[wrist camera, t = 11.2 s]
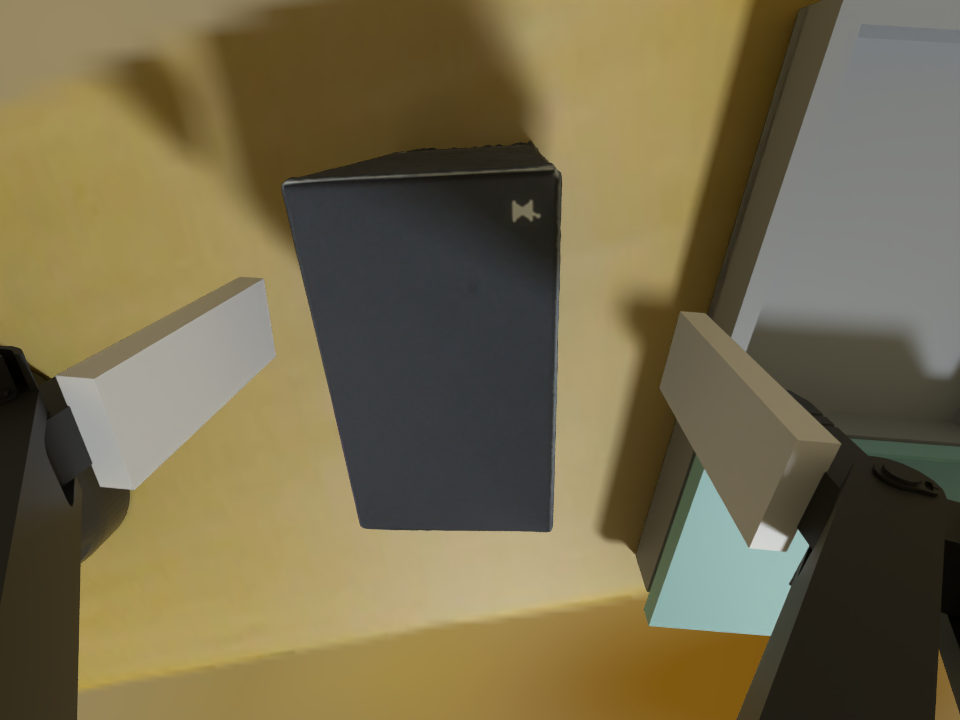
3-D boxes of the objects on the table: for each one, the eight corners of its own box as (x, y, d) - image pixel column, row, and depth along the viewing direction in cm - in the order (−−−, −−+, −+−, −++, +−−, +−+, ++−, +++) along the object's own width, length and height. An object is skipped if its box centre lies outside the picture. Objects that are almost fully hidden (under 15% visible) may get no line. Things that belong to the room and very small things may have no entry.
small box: (379, 149, 19) (257, 169, 10) (539, 140, 18) (576, 151, 9) (411, 376, 24) (349, 539, 14) (539, 373, 23) (563, 538, 14)
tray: (635, 555, 28) (646, 591, 26) (799, 9, 16) (846, -10, 14) (858, 573, 28) (888, 611, 26) (1194, 33, 16) (1306, 18, 14)
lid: (643, 609, 26) (665, 684, 23) (705, 427, 21) (746, 489, 17) (883, 628, 26) (943, 707, 23) (1011, 450, 21) (1117, 518, 17)
